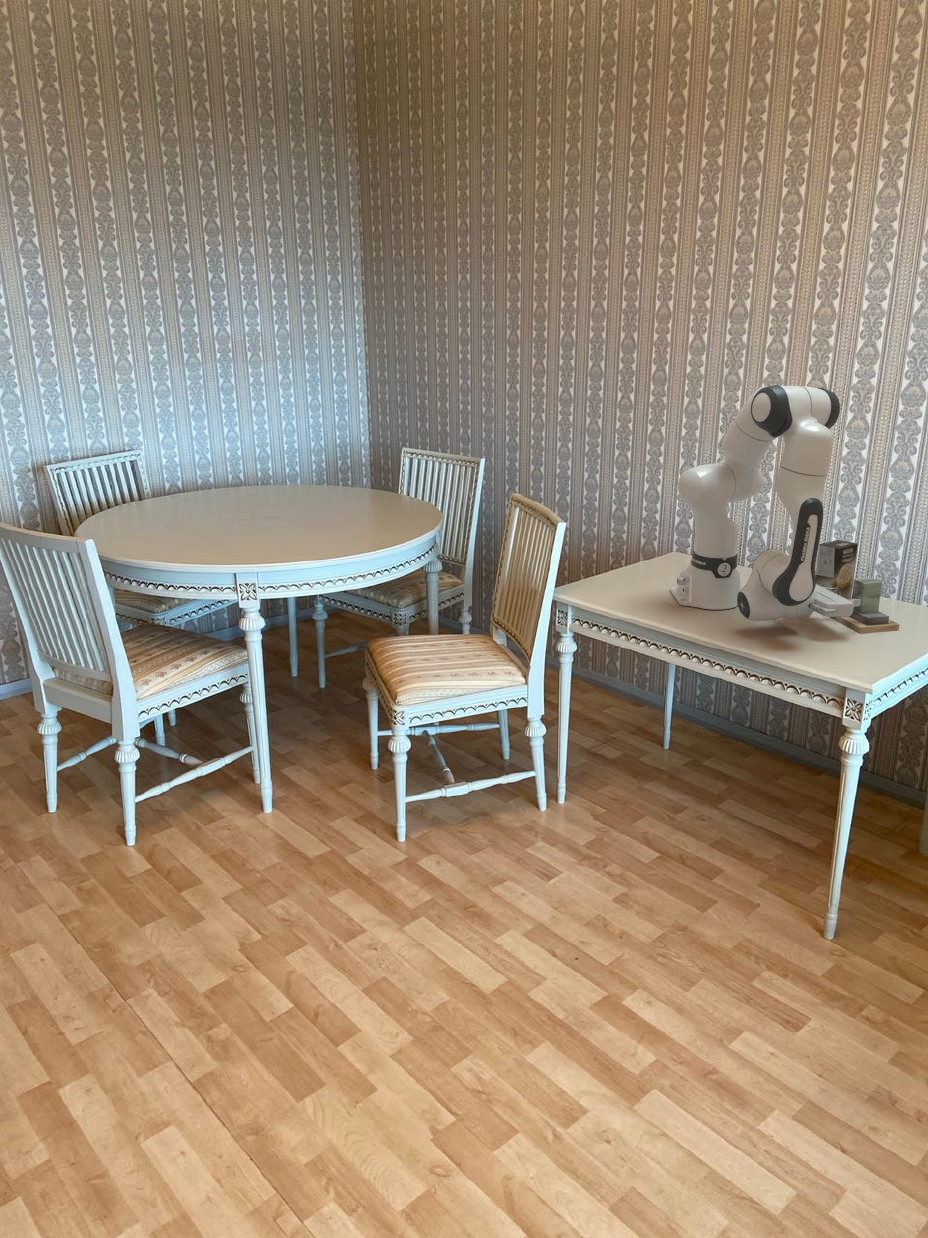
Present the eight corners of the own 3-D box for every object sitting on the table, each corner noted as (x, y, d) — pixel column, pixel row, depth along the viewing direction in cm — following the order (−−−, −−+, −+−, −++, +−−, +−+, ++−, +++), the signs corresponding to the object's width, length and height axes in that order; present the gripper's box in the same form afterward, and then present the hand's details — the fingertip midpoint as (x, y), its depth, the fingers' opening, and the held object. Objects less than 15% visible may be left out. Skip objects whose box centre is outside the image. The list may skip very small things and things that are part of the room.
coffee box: (832, 604, 270) (838, 548, 265) (812, 599, 275) (818, 543, 270) (852, 598, 275) (858, 543, 270) (831, 593, 280) (837, 538, 275)
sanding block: (839, 611, 259) (843, 575, 256) (859, 609, 260) (864, 573, 257) (867, 625, 248) (871, 587, 245) (888, 623, 249) (893, 586, 246)
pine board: (814, 608, 267) (815, 603, 266) (851, 606, 269) (852, 600, 268) (859, 633, 247) (860, 627, 246) (898, 629, 249) (899, 624, 249)
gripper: (823, 600, 238) (874, 596, 241) (780, 578, 257) (827, 574, 260) (820, 625, 240) (871, 620, 243) (778, 601, 259) (825, 597, 262)
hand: (848, 596), depth 251 cm, fingers open, 8 cm apart
